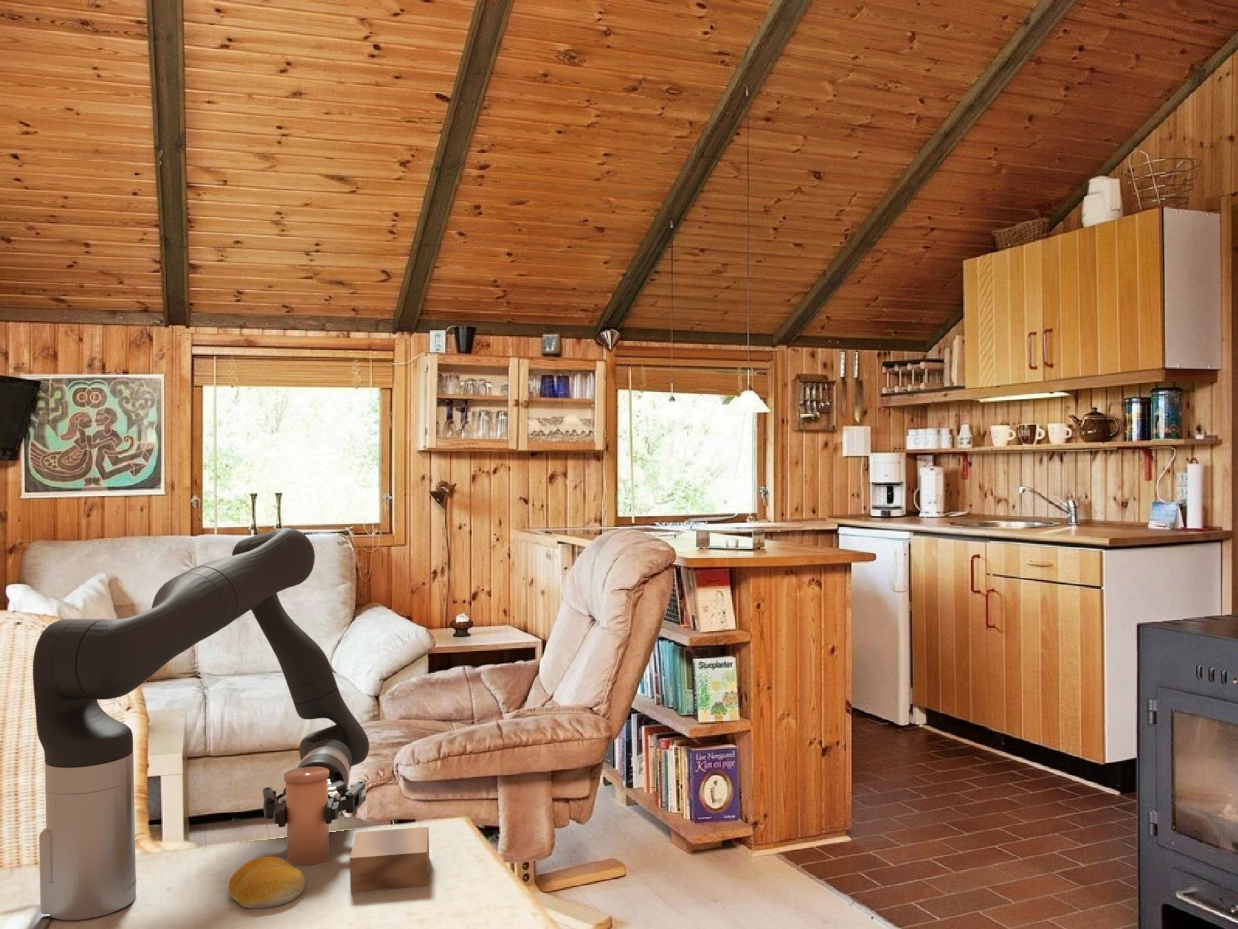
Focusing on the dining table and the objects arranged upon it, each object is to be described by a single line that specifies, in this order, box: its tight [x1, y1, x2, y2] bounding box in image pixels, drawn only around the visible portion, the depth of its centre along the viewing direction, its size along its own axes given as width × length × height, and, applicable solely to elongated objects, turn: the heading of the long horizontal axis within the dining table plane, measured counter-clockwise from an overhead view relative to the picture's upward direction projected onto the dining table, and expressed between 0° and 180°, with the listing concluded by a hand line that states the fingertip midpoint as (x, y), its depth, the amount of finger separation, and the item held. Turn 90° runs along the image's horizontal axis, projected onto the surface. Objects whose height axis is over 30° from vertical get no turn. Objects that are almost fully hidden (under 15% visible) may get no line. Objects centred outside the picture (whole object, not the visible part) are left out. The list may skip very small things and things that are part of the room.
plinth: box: [349, 826, 430, 893], centre depth 129 cm, size 9×9×4 cm
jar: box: [283, 767, 330, 866], centre depth 135 cm, size 6×6×11 cm
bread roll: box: [228, 856, 306, 909], centre depth 124 cm, size 8×9×4 cm
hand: (305, 817), depth 133 cm, fingers closed on jar, 5 cm apart
